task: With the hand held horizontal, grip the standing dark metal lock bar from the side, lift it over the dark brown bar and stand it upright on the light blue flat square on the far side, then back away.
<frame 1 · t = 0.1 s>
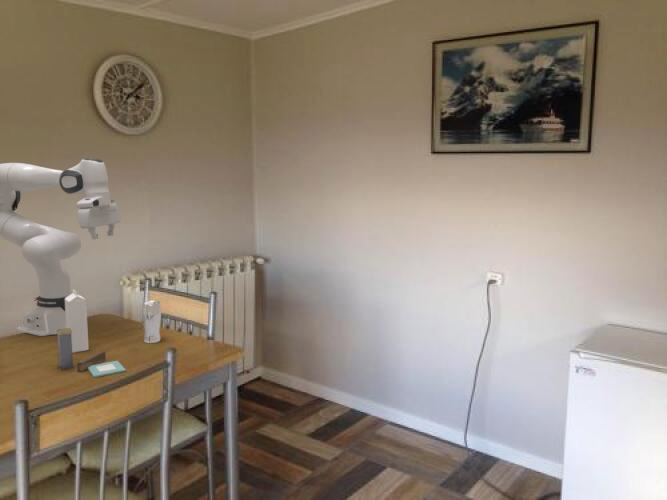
hand: (103, 237, 221), 39 cm above the table, tool pointing down, fingers open, 8 cm apart
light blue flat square: (106, 369, 193), on the table
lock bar: (66, 367, 194), on the table
milk: (77, 349, 212), on the table
dark brown bar: (91, 365, 196), on the table
beer glass: (152, 341, 223), on the table
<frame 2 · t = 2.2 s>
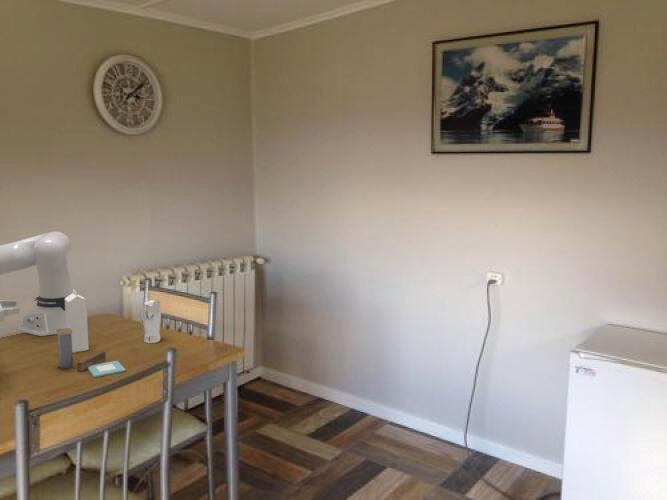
hand: (17, 306, 183), 23 cm above the table, tool horizontal, fingers open, 8 cm apart
nothing on the table moved.
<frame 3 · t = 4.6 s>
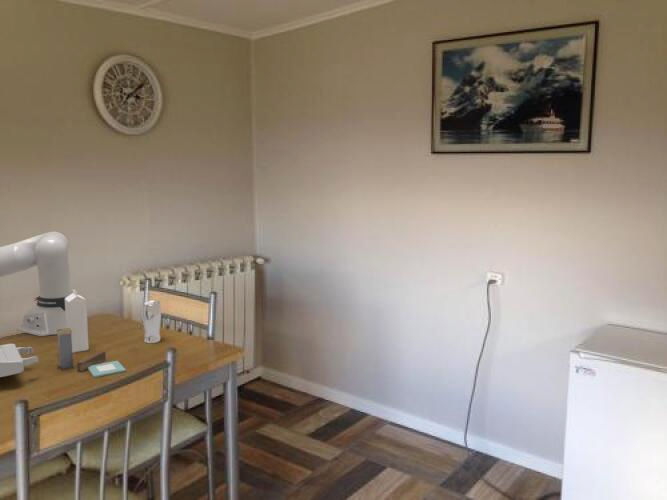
hand: (35, 354, 188), 6 cm above the table, tool horizontal, fingers open, 8 cm apart
nothing on the table moved.
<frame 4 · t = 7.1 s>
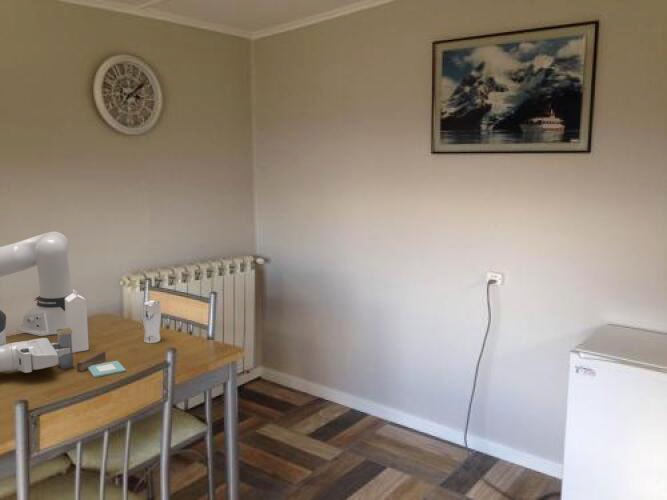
hand: (68, 347, 194), 7 cm above the table, tool horizontal, fingers closed on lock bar, 4 cm apart
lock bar: (66, 366, 194), on the table, touching gripper
everything else where it was.
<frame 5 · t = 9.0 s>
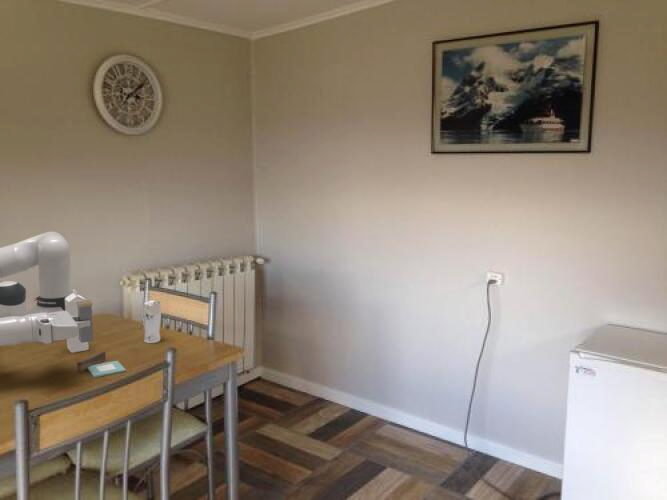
hand: (88, 320, 190), 17 cm above the table, tool horizontal, fingers closed on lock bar, 4 cm apart
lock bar: (86, 340, 190), point 10 cm above the table, touching gripper
everything else where it was.
when the fingers open (8 cm above the table, at t = 11.2 s): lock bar drops 1 cm, resting on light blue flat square.
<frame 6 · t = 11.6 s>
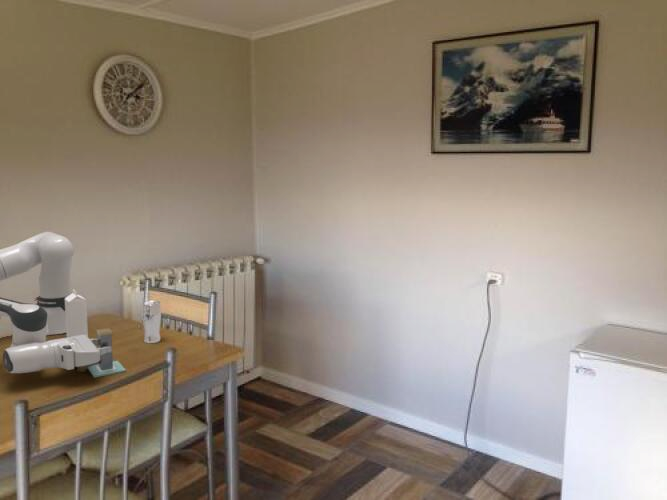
hand: (107, 344, 192), 8 cm above the table, tool horizontal, fingers open, 7 cm apart
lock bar: (105, 367, 193), point 1 cm above the table, touching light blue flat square
everything else where it was.
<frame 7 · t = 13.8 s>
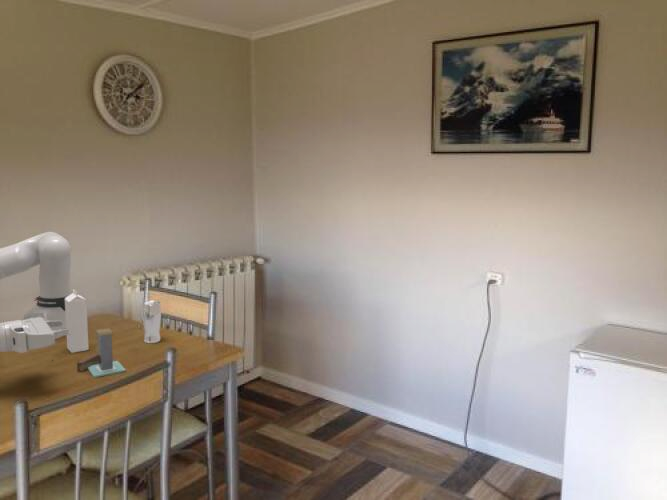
hand: (64, 327, 183), 17 cm above the table, tool horizontal, fingers open, 8 cm apart
nothing on the table moved.
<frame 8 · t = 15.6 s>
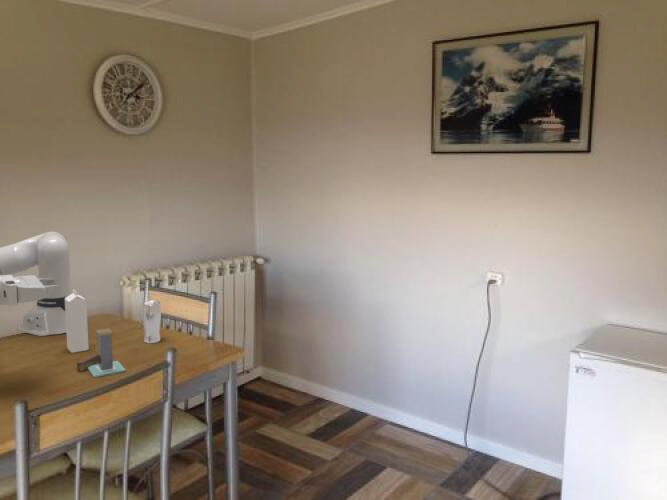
hand: (56, 284, 182), 30 cm above the table, tool horizontal, fingers open, 8 cm apart
nothing on the table moved.
at the end: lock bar inside the target area (0.1 cm from its centre), point 0.7 cm above the table; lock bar tilted 0°; the gripper is holding nothing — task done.
